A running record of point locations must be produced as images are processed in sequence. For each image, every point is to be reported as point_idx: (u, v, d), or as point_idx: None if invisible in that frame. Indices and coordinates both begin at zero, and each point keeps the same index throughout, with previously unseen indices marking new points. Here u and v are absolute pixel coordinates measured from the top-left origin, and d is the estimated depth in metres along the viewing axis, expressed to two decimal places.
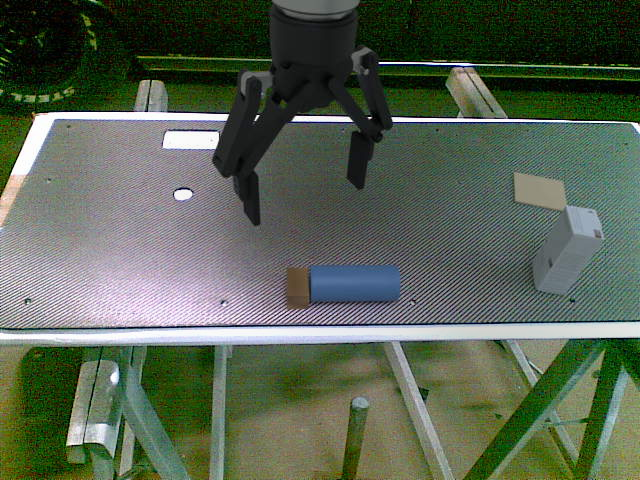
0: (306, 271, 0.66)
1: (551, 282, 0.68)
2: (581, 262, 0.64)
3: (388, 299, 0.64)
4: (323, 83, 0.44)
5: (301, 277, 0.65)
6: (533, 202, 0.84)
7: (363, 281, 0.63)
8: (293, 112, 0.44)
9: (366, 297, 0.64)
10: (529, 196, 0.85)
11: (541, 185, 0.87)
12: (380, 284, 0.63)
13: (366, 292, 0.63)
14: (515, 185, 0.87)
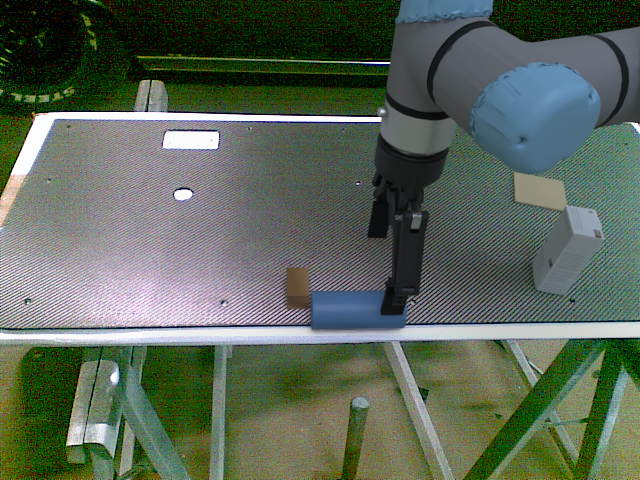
0: (306, 271, 0.66)
1: (551, 282, 0.68)
2: (581, 262, 0.64)
3: None
4: None
5: (301, 277, 0.65)
6: (533, 202, 0.84)
7: None
8: None
9: None
10: (529, 196, 0.85)
11: (541, 185, 0.87)
12: None
13: None
14: (515, 185, 0.87)
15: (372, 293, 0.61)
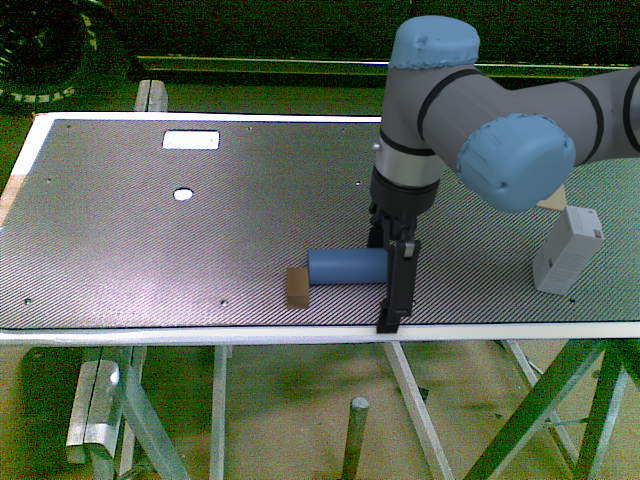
0: (306, 271, 0.66)
1: (551, 282, 0.68)
2: (581, 262, 0.64)
3: (385, 275, 0.66)
4: None
5: (301, 277, 0.65)
6: None
7: (359, 255, 0.66)
8: None
9: (363, 273, 0.66)
10: None
11: None
12: (375, 258, 0.66)
13: (363, 266, 0.65)
14: None
15: None
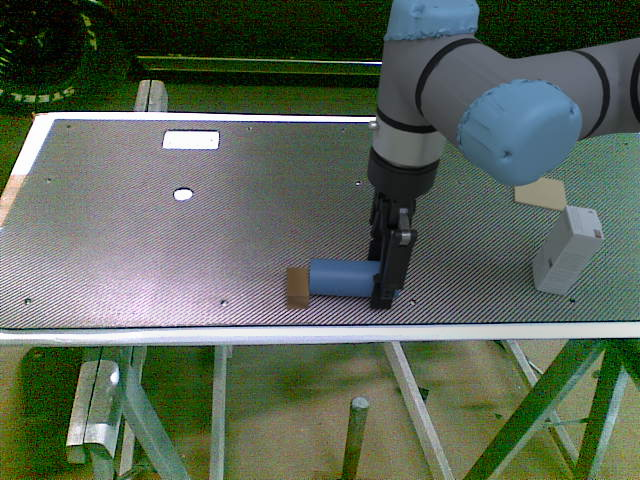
0: (306, 271, 0.66)
1: (551, 282, 0.68)
2: (581, 262, 0.64)
3: None
4: None
5: (301, 277, 0.65)
6: (533, 202, 0.84)
7: (361, 282, 0.63)
8: None
9: (364, 296, 0.64)
10: (529, 196, 0.85)
11: (541, 185, 0.87)
12: None
13: (364, 292, 0.63)
14: None
15: None
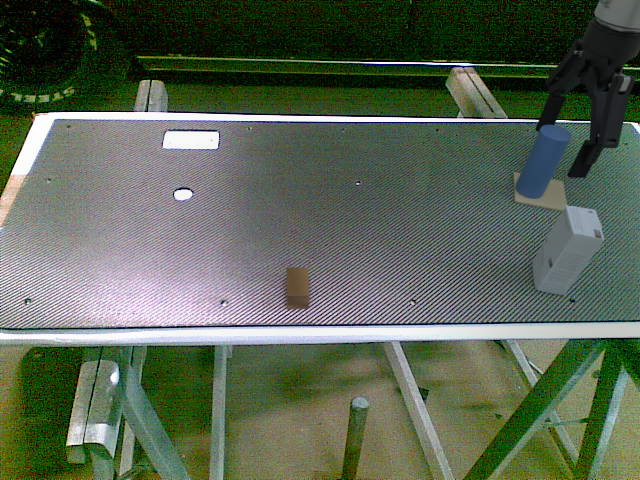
0: (306, 271, 0.66)
1: (551, 282, 0.68)
2: (581, 262, 0.64)
3: (567, 145, 0.78)
4: None
5: (301, 277, 0.65)
6: (533, 202, 0.84)
7: (545, 166, 0.80)
8: None
9: None
10: None
11: None
12: (553, 154, 0.78)
13: (555, 164, 0.79)
14: None
15: None
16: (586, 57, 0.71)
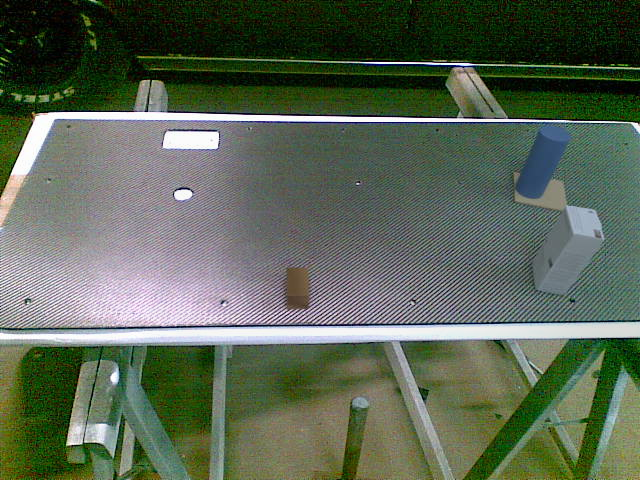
0: (306, 271, 0.66)
1: (551, 282, 0.68)
2: (581, 262, 0.64)
3: None
4: None
5: (301, 277, 0.65)
6: (533, 202, 0.84)
7: (544, 166, 0.80)
8: None
9: (558, 162, 0.80)
10: None
11: None
12: (552, 155, 0.78)
13: (554, 164, 0.79)
14: None
15: None
16: None
